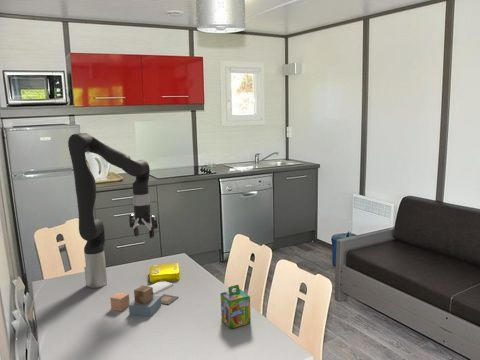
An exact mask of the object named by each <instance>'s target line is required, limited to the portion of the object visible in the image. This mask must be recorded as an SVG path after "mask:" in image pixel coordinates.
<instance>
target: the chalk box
mask: <svg viewBox="0 0 480 360" xmlns="http://www.w3.org/2000/svg"><path fill="white" fill-rule="evenodd" d="M219 295H220V310H221V313H220V315H221V321H222V322H223V323H224V324H225V325H226V326H227V327H228V328H230V330H232V329H233V330H234V329H235V328H239V327H242V326H246V325H250V324H251V323H252V322H251V296H250V295H248V294H247V293H246V292H245V291H243V290H242V289H241V288H240V285H239V284H236V285H231V286H228V290H227V291H223V292H221V293H220V294H219Z"/></svg>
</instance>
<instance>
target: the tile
mask: <svg viewBox="0 0 480 360" xmlns="http://www.w3.org/2000/svg"><path fill="white" fill-rule="evenodd" d="M160 297H161V305H167V306H169V305H171V304H172V303H174V302H175V301H176V300H177V299H179V296H177V295H176V296H175V295H172V294H165V293H164V294H162V295H160Z"/></svg>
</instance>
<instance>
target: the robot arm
mask: <svg viewBox="0 0 480 360" xmlns="http://www.w3.org/2000/svg"><path fill="white" fill-rule="evenodd" d="M67 146H68V151H69V156H70V159H71V163H72V171H73V177H74V185H75V186H74V187H75V188H74V189H75V194H76V195H75V196H76V202H77V209H78V210H77V211H78V233H79V235H80V238H81V239H82V240H84V241H86V242H85V245H84V247H83V253H84V263H85V266H84V267H83V268H84V277H85V286H87V287H88V288H90V289H91V288H92V289H98V288H101V287H102V288H103V287H104V286H105V285H107V283H108V279H107V278H108V277H107V268H106V267H107V266H106V257H105V244H106V238H105V237H106V234H105V226H104V223H103V222H102V221H101V219H99V218H96V217H94V208H95V203H96V198H97V185H96V178H95V176H94V174H93V172H92V171H91V169H90V168H89V166H88V163H87V160H86V158H87V157H86V153H93V154H96V155H98V156H100V157H101V158H102V159H103V160H105V162H107V163H109V164H110V165H112V166H114V167H117V168H119V169H121V170H123V171H124V172H125V173H126V174H128V175H130V176H131V177H135V181H134V182H133V183H132V193H133V194H132V205H133V213H131V214H129V218H128V219H129V221H128V222H129V227H130V228H132V229H133V236H134V237H138V236H140V232H139V226H141V225H142V226H145V227H147V228H148V234H149V236H148V237H149V238H150V239H152V238H154V237H155V230H156V229H158V228H159V226H158V220H157V216H156V215H152V216H151V199H150V192H149V180H150V172H151V170H150V165H149V163H148V162H147V160H144V159H139V160H133V159H132V158H131V157H130V155H128V154H127V153H124V152H122V151H120V150H117V149H115V148H113V147H110V145H107V144H105V143H103V142H102V141H100V140H99V139H97V138H96V137H94V136H93V135H92V134H90V133H85V132H81V133H72V134H71V135H70V136H69V138H68V141H67Z"/></svg>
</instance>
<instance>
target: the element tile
mask: <svg viewBox="0 0 480 360" xmlns="http://www.w3.org/2000/svg"><path fill="white" fill-rule="evenodd" d="M180 279H181V274H180V265H179V263H178V262H174V263H173V262H172V263H162V264H152V265H150V267H149V282H150V283H152V284H155V283H157V282H159V281H166V282H175V281H179V280H180Z"/></svg>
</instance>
